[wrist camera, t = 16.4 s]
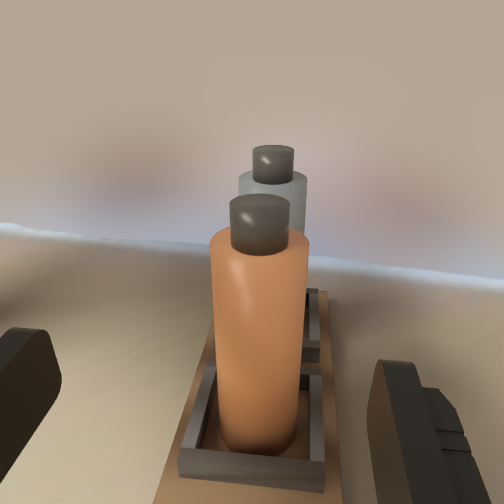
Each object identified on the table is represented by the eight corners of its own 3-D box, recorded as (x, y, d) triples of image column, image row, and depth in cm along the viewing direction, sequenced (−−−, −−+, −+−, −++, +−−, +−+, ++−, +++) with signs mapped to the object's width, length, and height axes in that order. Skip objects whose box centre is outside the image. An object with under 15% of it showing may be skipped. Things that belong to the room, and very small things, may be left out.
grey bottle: (298, 347, 33) (308, 160, 26) (238, 343, 33) (232, 158, 26) (299, 311, 37) (308, 142, 30) (245, 308, 37) (243, 141, 30)
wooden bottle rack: (342, 548, 21) (348, 517, 20) (152, 524, 22) (146, 494, 21) (326, 301, 40) (328, 277, 39) (225, 295, 41) (224, 272, 40)
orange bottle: (294, 465, 24) (312, 227, 17) (212, 455, 24) (196, 221, 17) (297, 400, 28) (311, 188, 21) (227, 393, 28) (218, 185, 21)
